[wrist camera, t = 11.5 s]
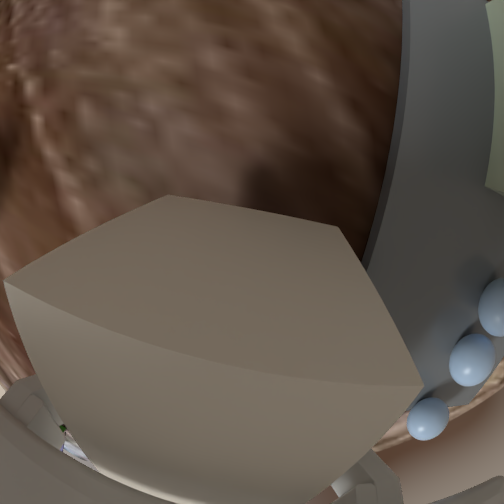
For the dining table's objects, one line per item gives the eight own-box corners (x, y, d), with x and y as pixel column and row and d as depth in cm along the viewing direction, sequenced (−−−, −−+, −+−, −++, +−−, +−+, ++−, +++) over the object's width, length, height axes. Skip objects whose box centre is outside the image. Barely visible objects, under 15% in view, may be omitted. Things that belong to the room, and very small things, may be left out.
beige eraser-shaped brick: (168, 194, 9) (3, 280, 3) (338, 226, 9) (424, 386, 2) (166, 395, 13) (121, 496, 7) (272, 419, 13) (258, 532, 7)
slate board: (399, -37, 6) (405, -45, 5) (558, 77, 5) (566, 77, 4) (307, 395, 15) (307, 407, 14) (464, 395, 14) (468, 404, 14)
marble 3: (479, 266, 10) (517, 284, 7) (507, 274, 10) (540, 291, 7) (460, 321, 11) (492, 347, 8) (490, 323, 11) (520, 345, 8)
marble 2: (456, 322, 11) (483, 356, 8) (486, 323, 11) (512, 353, 8) (432, 364, 12) (452, 400, 9) (463, 362, 12) (483, 394, 9)
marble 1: (430, 419, 10) (409, 452, 11) (464, 409, 10) (443, 442, 11) (409, 391, 13) (394, 425, 14) (442, 386, 13) (426, 418, 14)
